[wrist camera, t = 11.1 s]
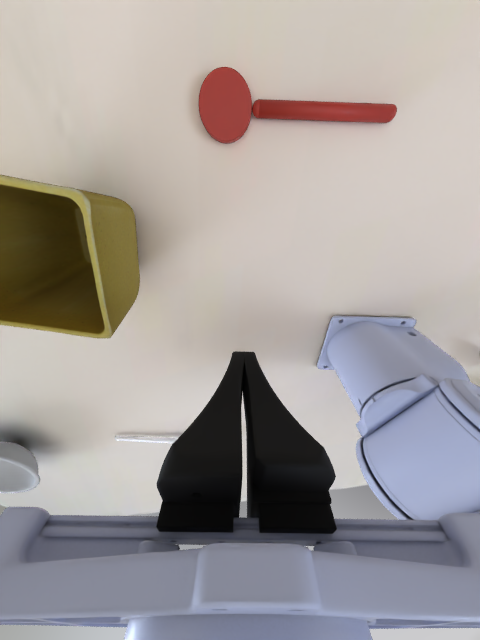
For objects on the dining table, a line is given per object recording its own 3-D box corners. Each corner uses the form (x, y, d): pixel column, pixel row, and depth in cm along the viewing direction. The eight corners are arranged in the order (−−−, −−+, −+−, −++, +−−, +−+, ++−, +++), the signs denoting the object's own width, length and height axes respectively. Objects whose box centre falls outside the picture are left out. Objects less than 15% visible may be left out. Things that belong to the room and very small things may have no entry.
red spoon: (402, 78, 13) (412, 71, 13) (381, 148, 15) (388, 146, 15) (198, 71, 13) (195, 63, 13) (202, 142, 15) (200, 139, 14)
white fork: (114, 429, 35) (108, 440, 33) (230, 431, 35) (229, 442, 33) (119, 439, 37) (114, 450, 35) (230, 441, 37) (229, 452, 35)
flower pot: (43, 170, 16) (-135, 147, 9) (155, 193, 17) (83, 190, 9) (71, 275, 21) (-29, 322, 13) (158, 289, 21) (112, 341, 14)
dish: (7, 410, 33) (-28, 443, 28) (79, 451, 39) (59, 482, 35) (-54, 436, 37) (-92, 467, 33) (21, 469, 44) (-3, 499, 39)
